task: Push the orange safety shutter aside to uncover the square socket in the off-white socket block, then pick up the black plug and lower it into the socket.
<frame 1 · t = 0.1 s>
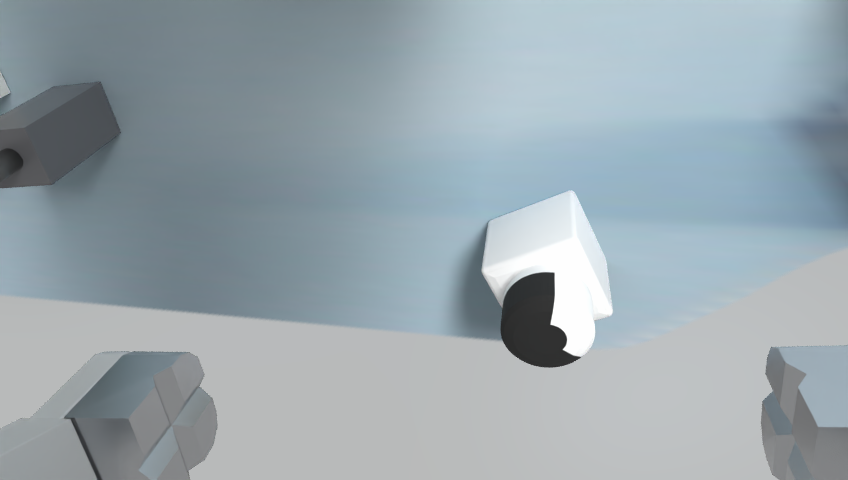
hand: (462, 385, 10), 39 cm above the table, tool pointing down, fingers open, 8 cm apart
plug: (87, 110, 53), on the table
medicine bottle: (547, 238, 53), on the table
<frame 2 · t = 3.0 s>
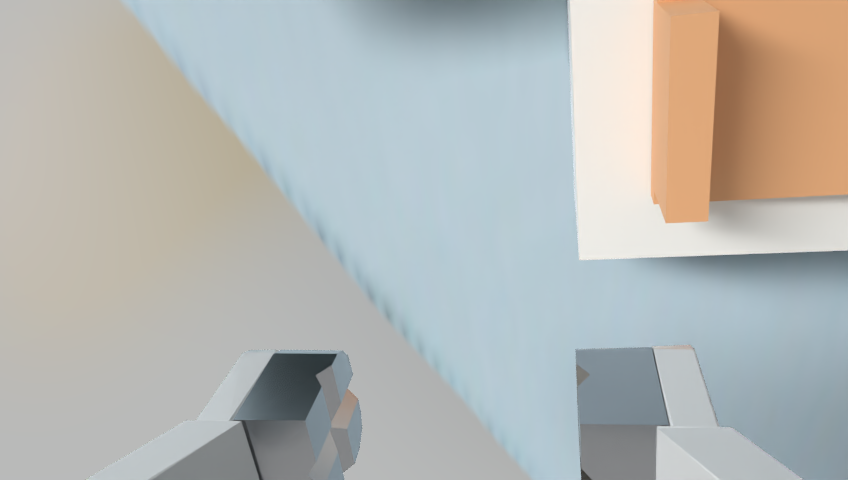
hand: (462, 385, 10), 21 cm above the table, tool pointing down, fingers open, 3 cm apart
shutter: (785, 100, 20), point 8 cm above the table, slide at 0.0 cm
socket: (779, 43, 26), on the table
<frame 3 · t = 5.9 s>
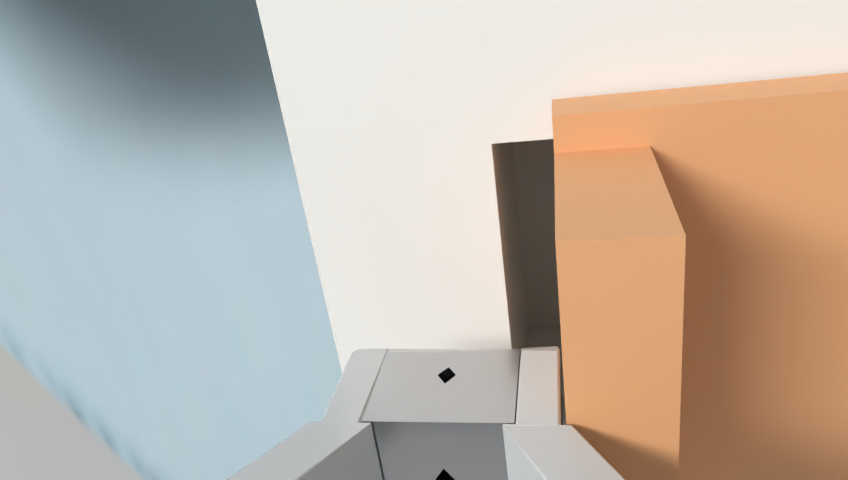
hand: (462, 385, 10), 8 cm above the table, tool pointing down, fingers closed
shutter: (846, 378, 9), point 8 cm above the table, slide at 1.5 cm, touching gripper
socket: (738, 164, 15), on the table
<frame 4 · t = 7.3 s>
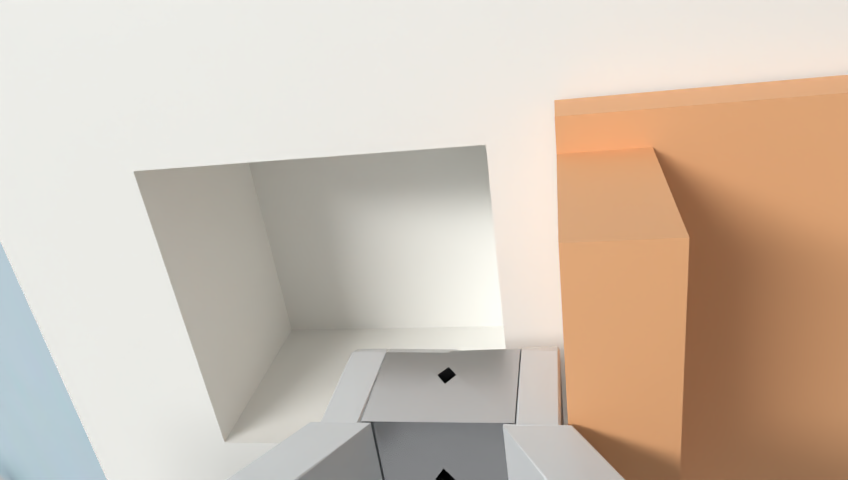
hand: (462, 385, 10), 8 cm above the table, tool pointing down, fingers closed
socket: (480, 181, 17), on the table
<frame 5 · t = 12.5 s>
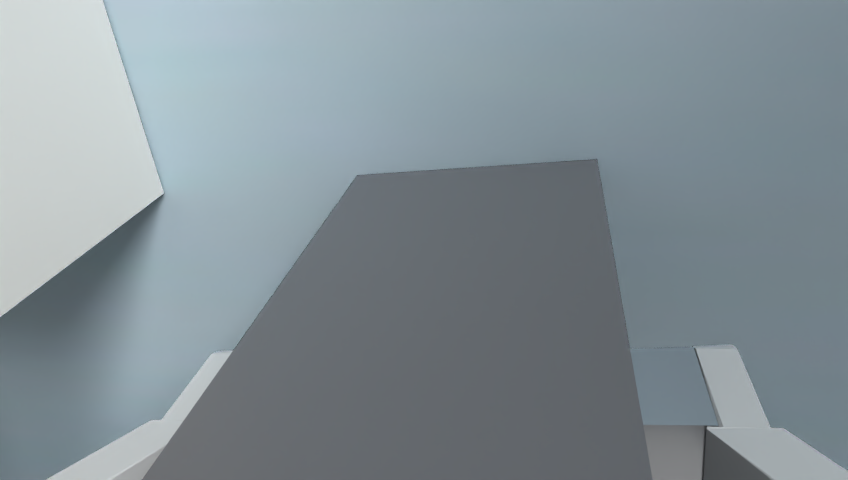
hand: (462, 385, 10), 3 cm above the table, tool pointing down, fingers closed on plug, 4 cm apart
plug: (483, 273, 13), on the table, touching gripper
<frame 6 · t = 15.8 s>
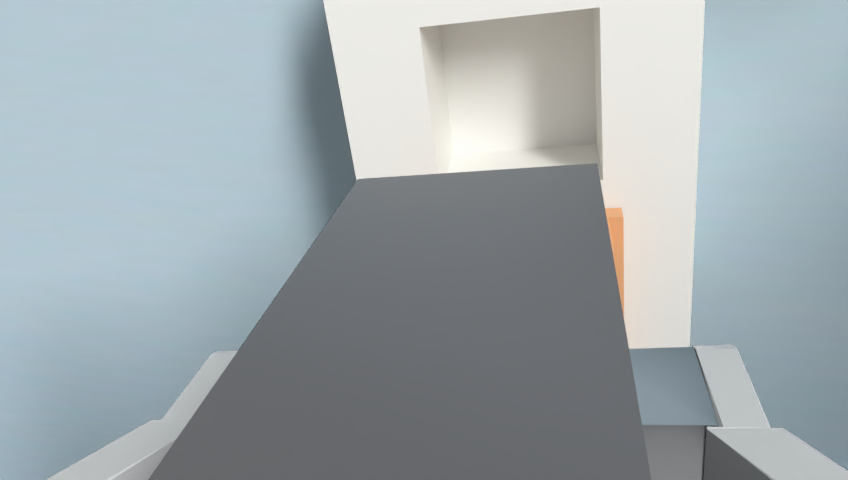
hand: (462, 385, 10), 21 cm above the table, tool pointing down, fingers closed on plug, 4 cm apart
shutter: (526, 319, 25), point 8 cm above the table, slide at 7.4 cm
socket: (523, 114, 29), on the table
plug: (484, 276, 13), point 18 cm above the table, touching gripper
when the fingers open (7 cm above the table, at t = 19.1 s): plug drops 1 cm, resting on socket.
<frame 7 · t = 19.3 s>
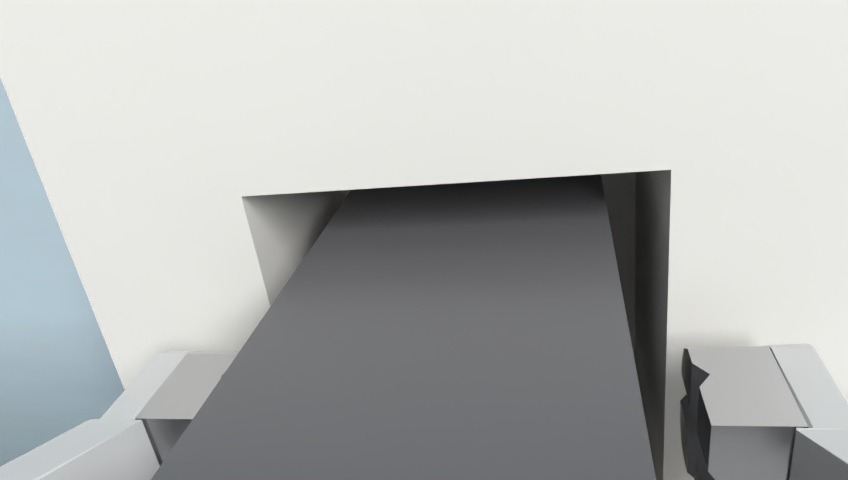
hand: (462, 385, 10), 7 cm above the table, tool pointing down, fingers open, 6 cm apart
socket: (501, 280, 16), on the table
plug: (490, 246, 14), point 2 cm above the table, touching socket
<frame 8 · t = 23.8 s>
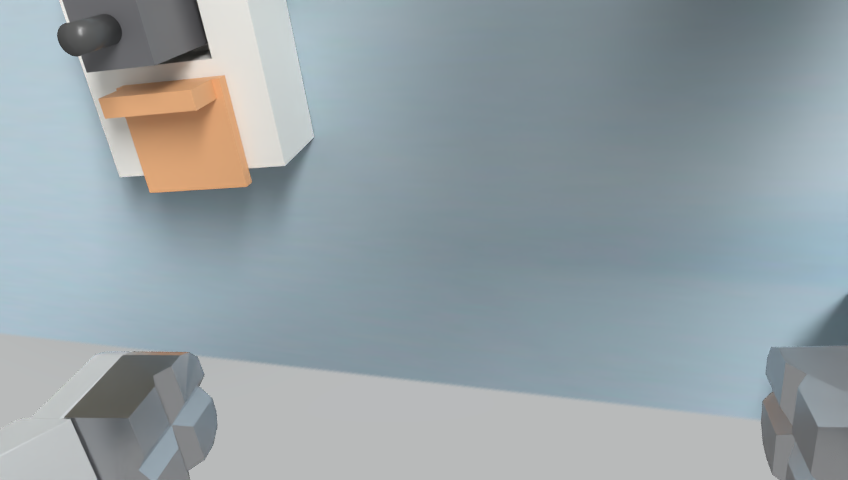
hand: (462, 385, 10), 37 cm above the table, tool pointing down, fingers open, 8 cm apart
shutter: (175, 143, 42), point 8 cm above the table, slide at 7.4 cm
socket: (208, 31, 47), on the table
plug: (188, 6, 44), point 2 cm above the table, touching socket
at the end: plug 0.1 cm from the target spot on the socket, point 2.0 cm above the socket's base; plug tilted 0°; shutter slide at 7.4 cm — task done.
